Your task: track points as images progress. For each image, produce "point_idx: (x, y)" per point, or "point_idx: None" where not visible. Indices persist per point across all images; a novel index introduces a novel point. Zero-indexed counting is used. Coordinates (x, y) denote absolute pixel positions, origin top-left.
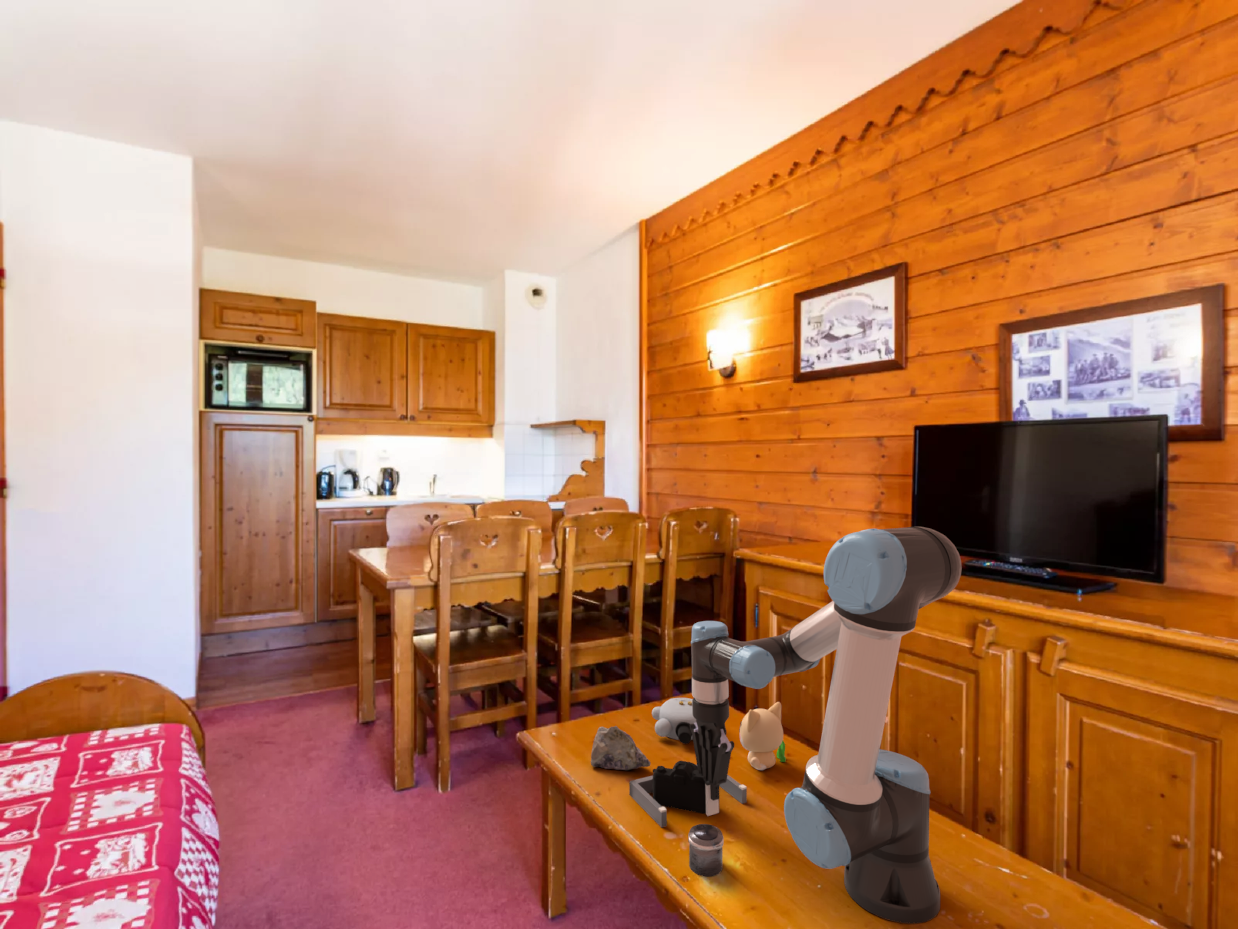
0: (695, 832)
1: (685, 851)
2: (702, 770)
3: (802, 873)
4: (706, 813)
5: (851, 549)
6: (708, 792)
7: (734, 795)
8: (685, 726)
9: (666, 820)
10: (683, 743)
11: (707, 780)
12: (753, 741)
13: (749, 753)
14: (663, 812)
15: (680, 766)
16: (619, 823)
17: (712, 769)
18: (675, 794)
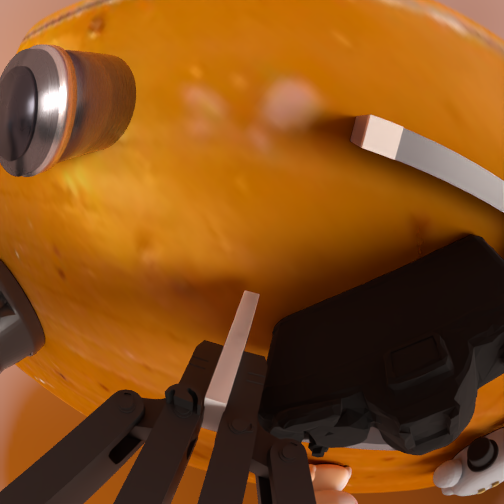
0: (19, 72)
1: (174, 86)
2: (249, 461)
3: (35, 263)
4: (254, 296)
5: None
6: (218, 363)
7: None
8: (481, 465)
9: (353, 142)
10: (479, 438)
11: (199, 413)
12: None
13: (341, 482)
14: (364, 126)
15: (434, 426)
16: (471, 37)
17: (134, 468)
18: (418, 298)
